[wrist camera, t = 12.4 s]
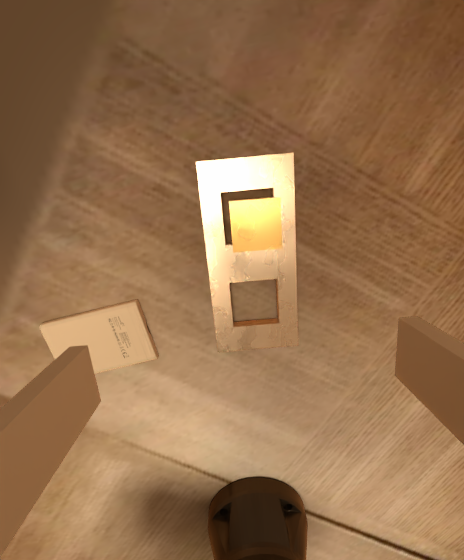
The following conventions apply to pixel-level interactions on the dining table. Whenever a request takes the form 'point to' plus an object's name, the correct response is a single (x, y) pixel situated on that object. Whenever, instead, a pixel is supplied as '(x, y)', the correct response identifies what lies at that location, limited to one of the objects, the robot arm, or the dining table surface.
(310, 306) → the dining table surface
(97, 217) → the dining table surface
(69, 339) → the external hard drive
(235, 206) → the brass peg
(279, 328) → the rail plate
